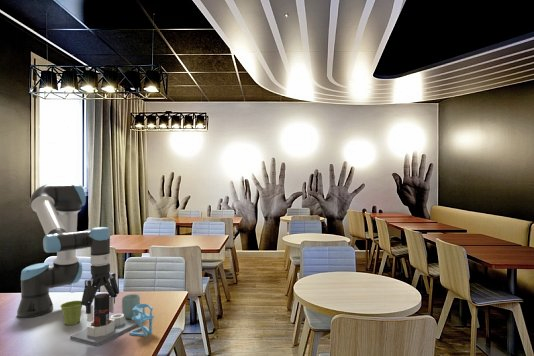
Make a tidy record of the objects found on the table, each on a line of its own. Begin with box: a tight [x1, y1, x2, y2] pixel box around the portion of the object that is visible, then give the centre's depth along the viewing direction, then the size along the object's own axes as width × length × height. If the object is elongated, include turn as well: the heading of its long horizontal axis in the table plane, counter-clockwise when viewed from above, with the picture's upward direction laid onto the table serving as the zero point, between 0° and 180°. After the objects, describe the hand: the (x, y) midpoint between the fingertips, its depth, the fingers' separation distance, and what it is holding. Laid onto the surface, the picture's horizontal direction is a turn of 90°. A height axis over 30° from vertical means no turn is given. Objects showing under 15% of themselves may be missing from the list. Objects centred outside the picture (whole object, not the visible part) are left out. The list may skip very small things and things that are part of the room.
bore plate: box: [69, 313, 140, 347], centre depth 153 cm, size 16×22×5 cm
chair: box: [128, 303, 155, 338], centre depth 151 cm, size 8×8×12 cm
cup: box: [121, 293, 141, 320], centre depth 168 cm, size 8×8×10 cm
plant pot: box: [59, 300, 83, 326], centre depth 164 cm, size 9×9×9 cm
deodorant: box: [93, 292, 111, 327], centre depth 151 cm, size 6×6×15 cm
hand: (101, 316), depth 151 cm, fingers open, 10 cm apart
